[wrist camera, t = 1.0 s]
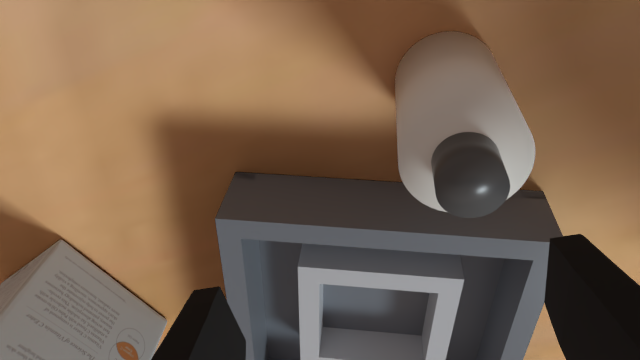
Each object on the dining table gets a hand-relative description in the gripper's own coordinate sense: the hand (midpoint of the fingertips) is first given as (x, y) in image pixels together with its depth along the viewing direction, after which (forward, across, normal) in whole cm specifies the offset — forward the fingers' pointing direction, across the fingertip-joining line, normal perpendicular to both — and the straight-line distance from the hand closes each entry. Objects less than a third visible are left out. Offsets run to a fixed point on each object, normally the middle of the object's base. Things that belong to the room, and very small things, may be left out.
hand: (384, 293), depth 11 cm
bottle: (+11, -4, +1) cm, 12 cm away
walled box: (+11, +1, +12) cm, 16 cm away
